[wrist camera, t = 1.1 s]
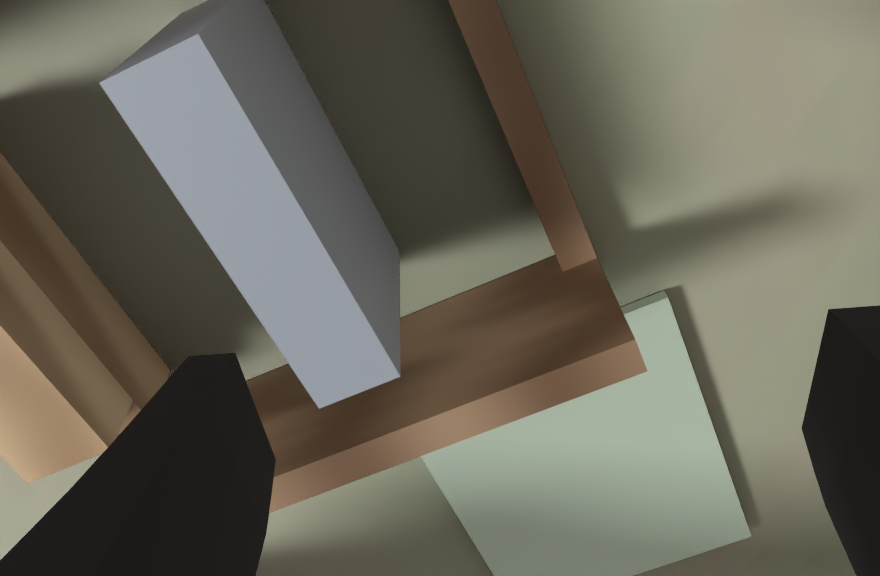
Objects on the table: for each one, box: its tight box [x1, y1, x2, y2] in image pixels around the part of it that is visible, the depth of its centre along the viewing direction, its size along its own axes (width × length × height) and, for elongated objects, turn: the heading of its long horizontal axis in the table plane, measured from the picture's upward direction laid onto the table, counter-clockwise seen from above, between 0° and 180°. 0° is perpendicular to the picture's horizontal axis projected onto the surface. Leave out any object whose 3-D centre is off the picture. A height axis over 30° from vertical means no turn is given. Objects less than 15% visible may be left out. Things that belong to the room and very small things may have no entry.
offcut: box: [0, 153, 171, 483], centre depth 20 cm, size 2×9×4 cm, turn 24°
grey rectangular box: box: [99, 0, 401, 409], centre depth 18 cm, size 2×8×6 cm, turn 24°
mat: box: [420, 291, 752, 576], centre depth 27 cm, size 9×11×1 cm
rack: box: [116, 0, 647, 513], centre depth 19 cm, size 16×14×5 cm
